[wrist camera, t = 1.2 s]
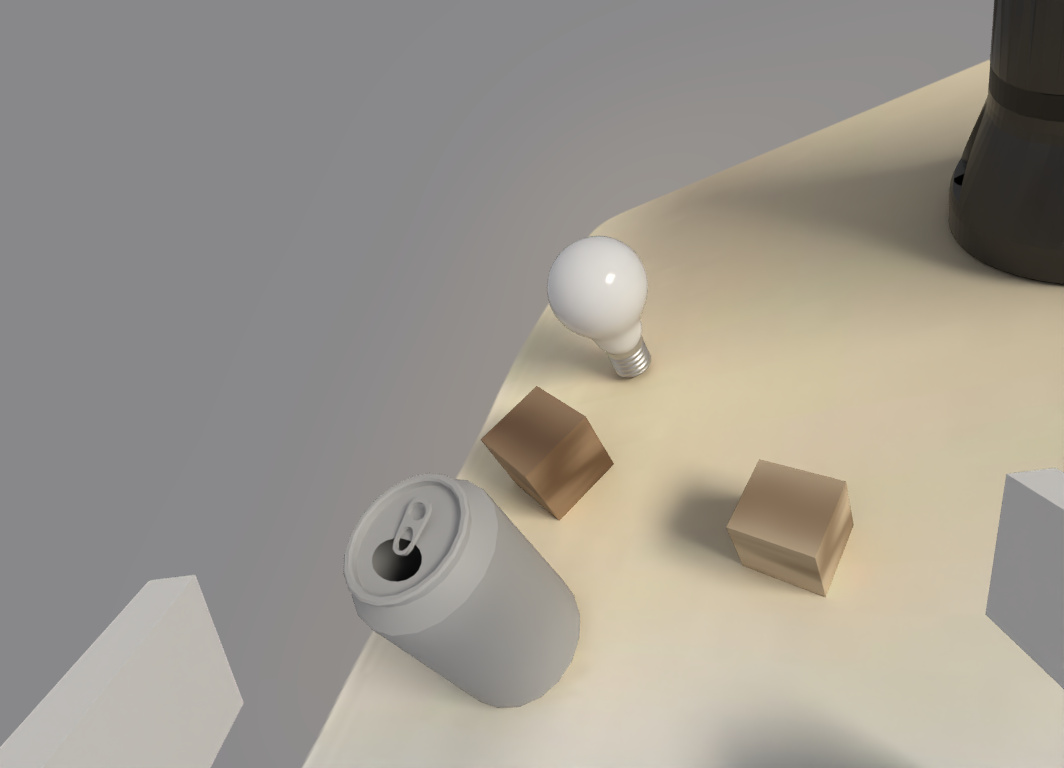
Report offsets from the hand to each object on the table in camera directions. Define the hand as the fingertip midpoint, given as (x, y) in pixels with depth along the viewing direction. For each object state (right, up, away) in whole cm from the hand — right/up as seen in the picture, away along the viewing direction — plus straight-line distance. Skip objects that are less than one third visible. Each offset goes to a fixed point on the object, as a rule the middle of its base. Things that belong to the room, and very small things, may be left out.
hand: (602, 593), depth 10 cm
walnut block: (+1, -3, +30) cm, 30 cm away
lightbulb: (+6, +4, +34) cm, 34 cm away
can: (-2, -11, +23) cm, 26 cm away
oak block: (+12, -5, +20) cm, 24 cm away
